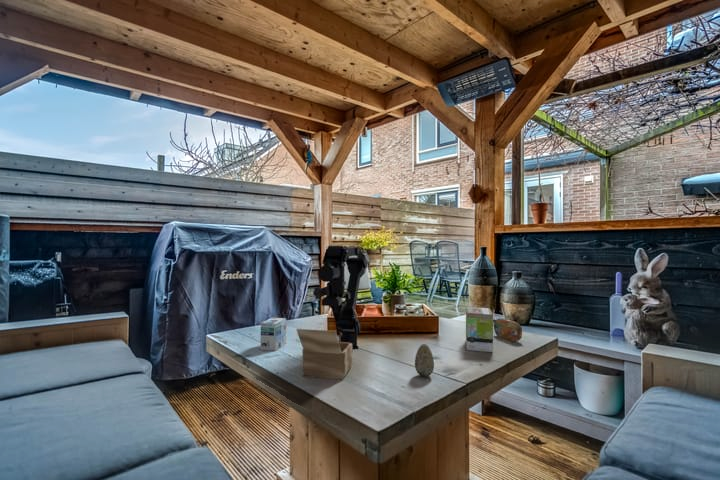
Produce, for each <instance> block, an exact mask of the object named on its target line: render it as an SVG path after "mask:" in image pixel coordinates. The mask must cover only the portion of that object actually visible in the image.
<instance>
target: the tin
mask: <svg viewBox="0 0 720 480" xmlns="http://www.w3.org/2000/svg"><path fill="white" fill-rule="evenodd" d="M493 332H494V333H495V335H496V336H497V337H498V338H500V339H503V340H506V341H509V342H512V343H513V342H519V341H520V340H521V339H522V337H523V329H522V325H520V323H519V322H518V321H513V320H509V319H506V318H497V319H495V321H494V322H493Z"/></svg>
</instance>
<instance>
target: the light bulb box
mask: <svg viewBox="0 0 720 480" xmlns="http://www.w3.org/2000/svg"><path fill="white" fill-rule="evenodd" d="M286 344H287V318H285V317H270V318H269V319H266V320H264V321H261V322H260V350H263V351H274V352H275V351H277V350H279V349H281V348H282V347H283V346H286Z"/></svg>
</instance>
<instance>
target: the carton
mask: <svg viewBox="0 0 720 480" xmlns="http://www.w3.org/2000/svg"><path fill="white" fill-rule="evenodd" d="M339 345H340V349H341V354H334V353H318V352H304V350H303V349H302V354H301V355H302V358H301V359H302V361H301V362H302V363H301V366H302V370H301V371H302V373H303V375H302V377H308V378H322V379H333V380H335V379H336V380H344V379H345V377H346V376H347V374H348V373H349V371H350V370H351V369H352V366H353V349H352V343H350V342H339Z"/></svg>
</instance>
